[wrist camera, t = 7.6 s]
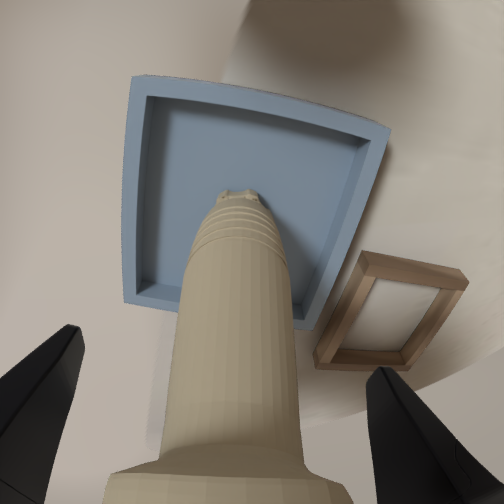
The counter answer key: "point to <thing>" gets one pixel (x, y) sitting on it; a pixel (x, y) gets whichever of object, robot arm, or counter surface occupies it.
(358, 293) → the brown square frame
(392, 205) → the counter surface
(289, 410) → the handle
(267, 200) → the tray
